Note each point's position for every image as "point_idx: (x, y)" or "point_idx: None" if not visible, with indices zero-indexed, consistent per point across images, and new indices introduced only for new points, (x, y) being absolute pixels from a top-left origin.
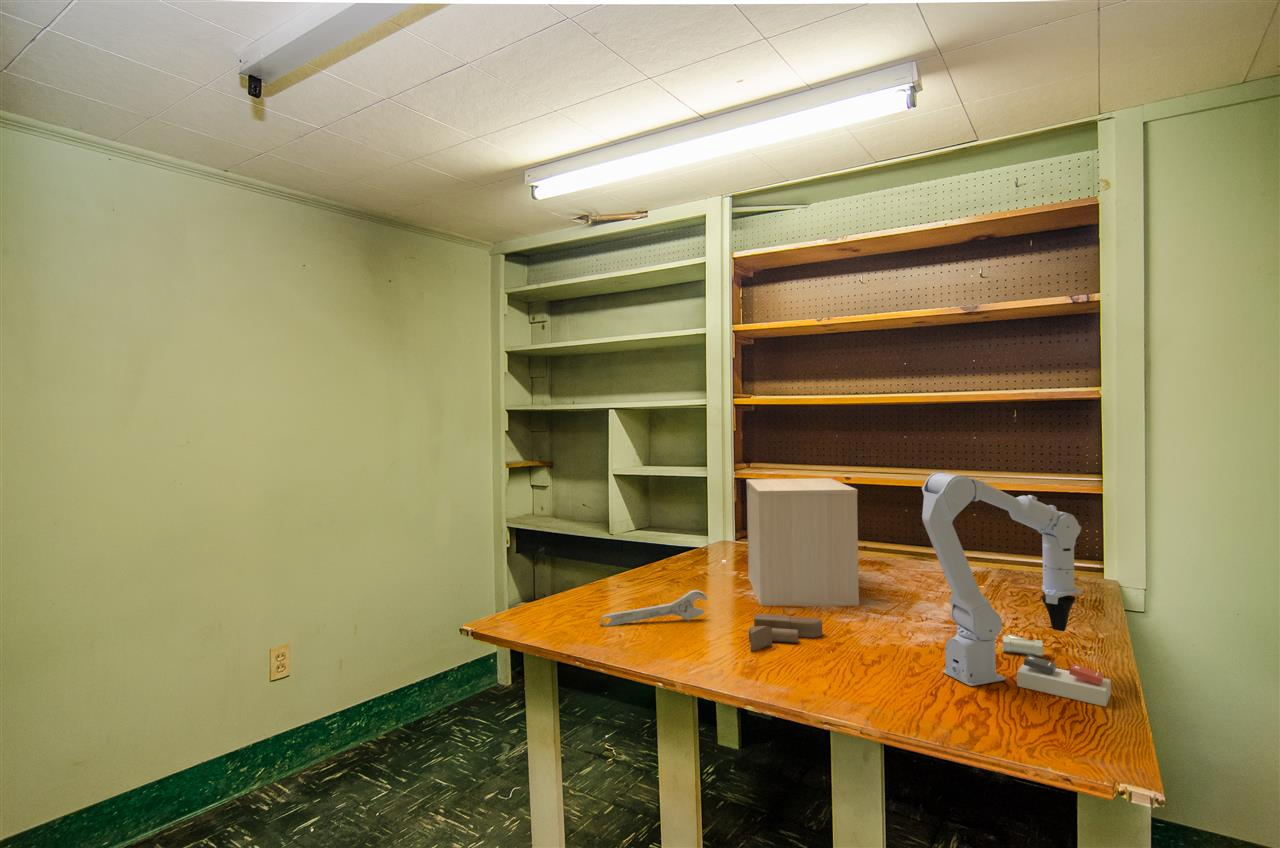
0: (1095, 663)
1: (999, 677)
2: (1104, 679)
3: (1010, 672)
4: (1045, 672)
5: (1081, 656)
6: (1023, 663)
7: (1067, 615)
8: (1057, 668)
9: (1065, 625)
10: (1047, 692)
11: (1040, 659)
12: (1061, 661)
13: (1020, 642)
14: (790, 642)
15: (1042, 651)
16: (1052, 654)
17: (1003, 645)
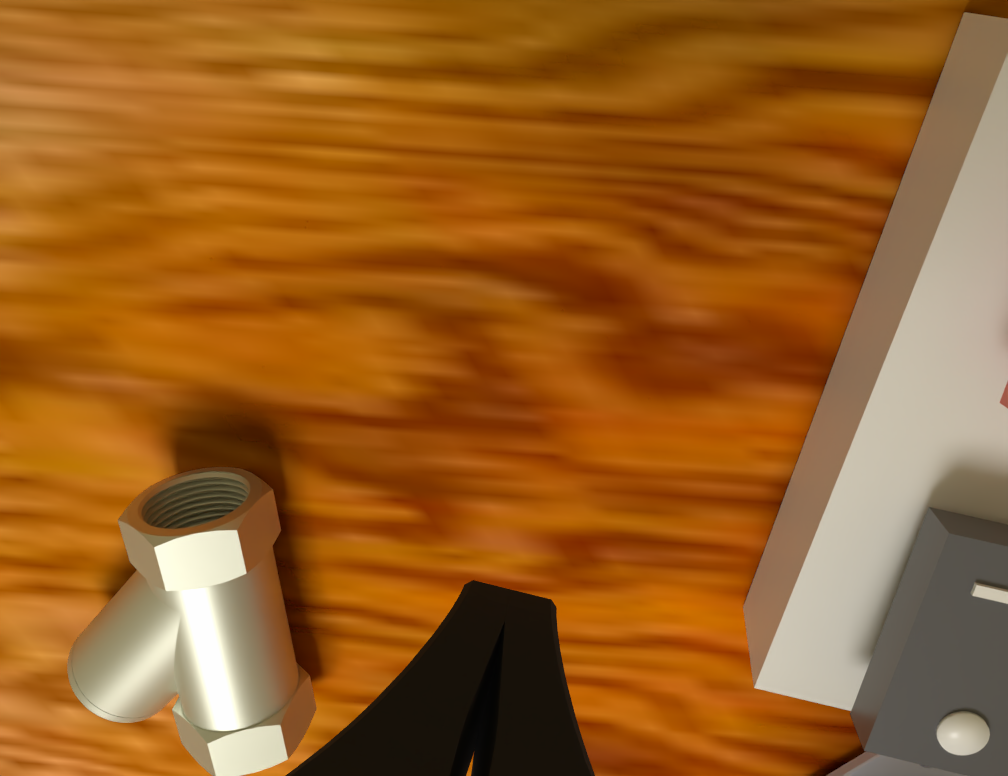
0: (128, 87)
1: (929, 769)
2: None
3: (713, 681)
4: None
5: (17, 190)
6: (808, 699)
7: (524, 756)
8: (841, 480)
9: (556, 649)
10: None
11: (925, 662)
12: (253, 349)
13: (247, 668)
14: None
15: (258, 506)
16: (123, 398)
17: (301, 735)
